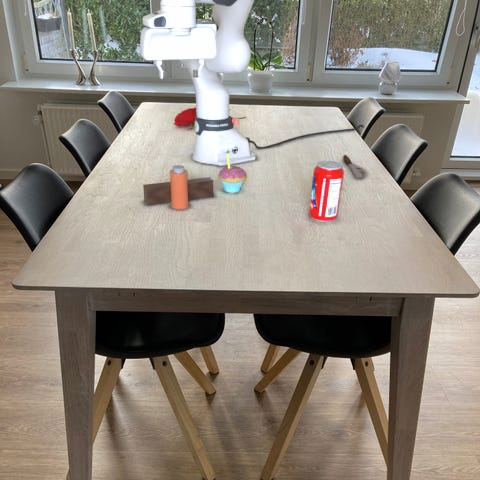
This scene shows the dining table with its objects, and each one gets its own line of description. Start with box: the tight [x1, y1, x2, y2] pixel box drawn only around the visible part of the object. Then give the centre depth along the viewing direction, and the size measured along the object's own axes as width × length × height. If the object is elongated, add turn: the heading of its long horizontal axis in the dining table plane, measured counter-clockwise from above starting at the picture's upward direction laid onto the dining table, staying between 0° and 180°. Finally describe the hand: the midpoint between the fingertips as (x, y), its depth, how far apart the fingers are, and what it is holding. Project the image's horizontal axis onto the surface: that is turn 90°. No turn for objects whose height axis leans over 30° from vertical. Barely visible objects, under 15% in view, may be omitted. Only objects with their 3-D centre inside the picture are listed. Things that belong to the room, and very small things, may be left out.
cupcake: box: [218, 153, 248, 194], centre depth 156 cm, size 9×8×12 cm
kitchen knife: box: [342, 154, 365, 179], centre depth 180 cm, size 21×2×5 cm
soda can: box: [308, 160, 345, 223], centre depth 140 cm, size 8×8×15 cm
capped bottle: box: [169, 164, 189, 210], centre depth 144 cm, size 5×5×11 cm
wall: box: [142, 176, 214, 206], centre depth 150 cm, size 20×3×5 cm, turn 114°
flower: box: [173, 106, 247, 130], centre depth 215 cm, size 9×10×30 cm
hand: (180, 77), depth 141 cm, fingers open, 8 cm apart
